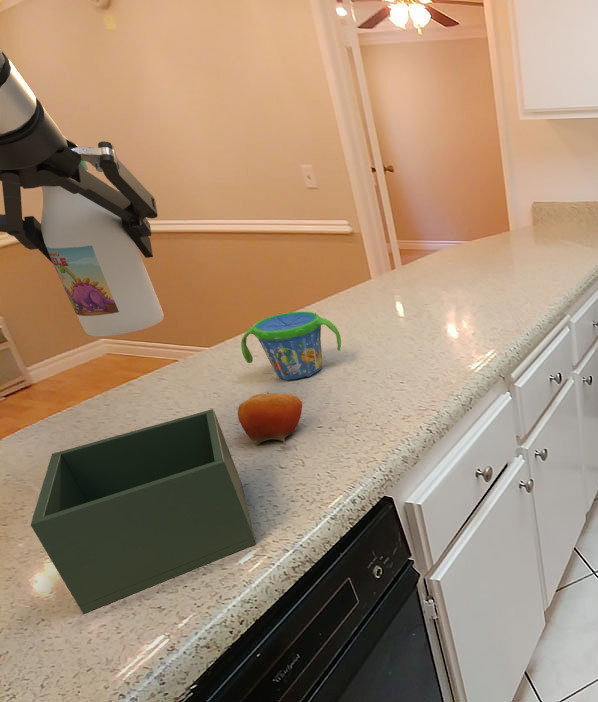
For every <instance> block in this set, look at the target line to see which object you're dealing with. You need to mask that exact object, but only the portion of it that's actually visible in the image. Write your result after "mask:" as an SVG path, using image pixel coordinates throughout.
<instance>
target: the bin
mask: <svg viewBox="0 0 598 702" xmlns="http://www.w3.org/2000/svg"><path fill="white" fill-rule="evenodd" d="M225 438H226V437H225V436H224V433H223V430H222V428H221V424H220V423H219V420H218V417H217V415H216V412H215V410H214V408H211V409H208V410H204V411H201V412H197V413H192V414H190V415H187V416H183V417H179V418H175V419H172V420H169V421H165V422H161V423H157V424H154V425H150V426H147V427H143V428H140V429H135V430H133V431H129V432H125V433H121V434H117V435H114V436H110V437H107V438H103V439H99V440H96V441H92V442H89V443H86V444H82V445H79V446H75V447H72V448H68V449H65V450H60V451H56V452H53V453H51V456H50V459H49V461H48V465H47V469H46V472H45V476H44V479H43V482H42V486H41V489H40V491H39V495H38V499H37V502H36V505H35V509H34V512H33V516H32V519H31V522H30V527H31V528H32V530H33V532H34V534H35V536H36V537H37V539H38V540H39V542H40V544H41V545H42V547H43V548H44V551H45V552H46V554H47V556H48V557H49V559H50V561H51V562H52V564H53V566H54V568H55V569H56V571H57V573H58V575H59V576H60V577H61V579H62V581H63V583H64V584H65V586H66V588H67V590H68V592H69V593H70V594H71V596H72V598H73V599H74V601H75V603H76V605H77V606H78V608H79V610H80V611H81V613H82V614H88V613H90V612H92V611H94V610H97V609H99V608H102V607H105V606H107V605H109V604H112V603H114V602H117V601H119V600H121V599H124V598H127V597H129V596H131V595H134V594H136V593H139V592H142V591H143V590H146V589H148V588H151V587H154V586H156V585H159V584H162V583H163V582H166V581H169V580H171V579H174V578H176V577H179V576H181V575H183V574H186V573H188V572H190V571H193V570H195V569H198V568H200V567H203V566H205V565H208V564H211V563H213V562H215V561H218V560H220V559H222V558H226V557H228V556H230V555H233V554H235V553H237V552H240V551H242V550H245V549H247V548H250V547H252V546H255V545H257V540H256V536H255V532H254V528H253V524H252V520H251V517H250V512H249V507H248V503H247V499H246V495H245V491H244V488H243V483H242V480H241V478H240V476H239V473H238V470H237V467H236V465H235V462H234V459H233V457H232V454H231V451H230V449H229V447H228V443H227V440H226V439H225Z"/></svg>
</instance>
